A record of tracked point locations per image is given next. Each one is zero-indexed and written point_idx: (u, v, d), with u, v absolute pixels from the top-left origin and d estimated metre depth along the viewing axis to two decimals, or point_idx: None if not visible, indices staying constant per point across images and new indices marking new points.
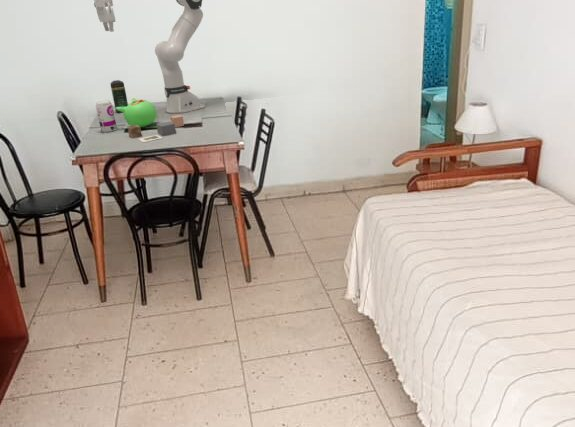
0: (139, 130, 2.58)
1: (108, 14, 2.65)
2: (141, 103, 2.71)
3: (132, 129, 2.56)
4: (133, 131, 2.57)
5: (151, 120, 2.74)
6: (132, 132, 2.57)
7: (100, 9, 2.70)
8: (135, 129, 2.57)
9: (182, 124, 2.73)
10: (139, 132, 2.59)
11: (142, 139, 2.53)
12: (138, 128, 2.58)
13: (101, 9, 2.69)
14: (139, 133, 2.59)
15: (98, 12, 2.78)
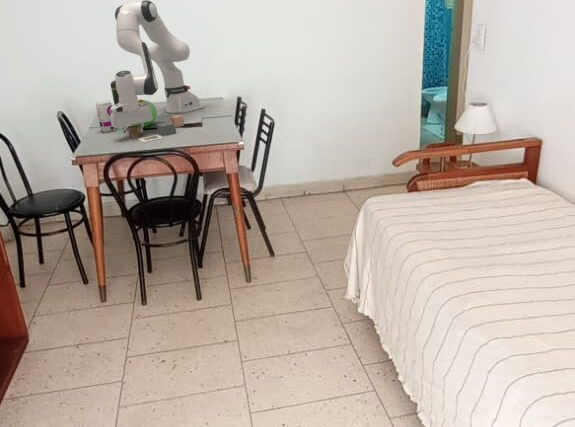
0: (139, 130, 2.58)
1: (151, 112, 2.60)
2: None
3: (132, 129, 2.56)
4: (133, 131, 2.57)
5: None
6: (132, 132, 2.57)
7: (135, 111, 2.54)
8: (135, 129, 2.57)
9: (182, 124, 2.73)
10: (139, 132, 2.59)
11: (142, 139, 2.53)
12: (138, 128, 2.58)
13: (136, 111, 2.55)
14: (139, 133, 2.59)
15: (116, 117, 2.51)
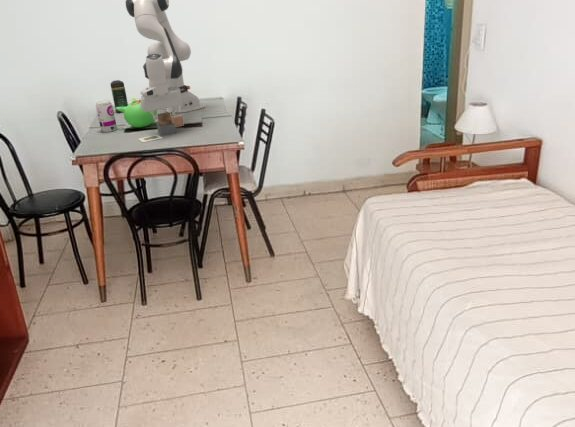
0: (169, 117, 2.57)
1: (180, 97, 2.58)
2: None
3: (162, 116, 2.55)
4: (163, 118, 2.56)
5: (151, 120, 2.74)
6: (162, 119, 2.56)
7: (165, 95, 2.52)
8: (165, 116, 2.56)
9: (182, 124, 2.73)
10: (169, 119, 2.58)
11: (142, 139, 2.53)
12: (168, 115, 2.57)
13: (166, 95, 2.53)
14: (169, 121, 2.58)
15: (146, 101, 2.50)
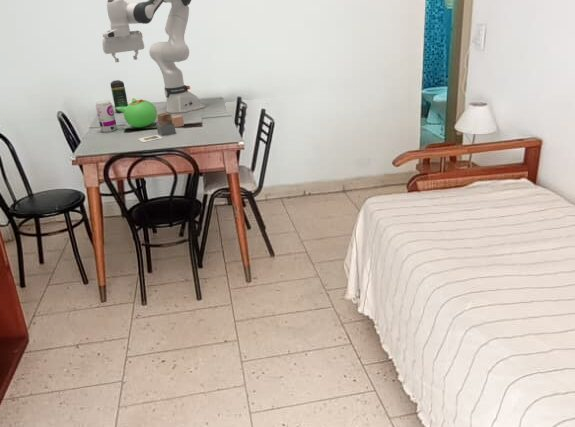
0: (170, 117, 2.57)
1: (142, 41, 2.67)
2: (141, 103, 2.71)
3: (163, 116, 2.55)
4: (164, 118, 2.56)
5: (151, 120, 2.74)
6: (163, 119, 2.56)
7: (126, 38, 2.61)
8: (166, 116, 2.56)
9: (182, 124, 2.73)
10: (170, 119, 2.58)
11: (142, 139, 2.53)
12: (169, 115, 2.57)
13: (127, 38, 2.61)
14: (169, 121, 2.58)
15: (108, 43, 2.58)
